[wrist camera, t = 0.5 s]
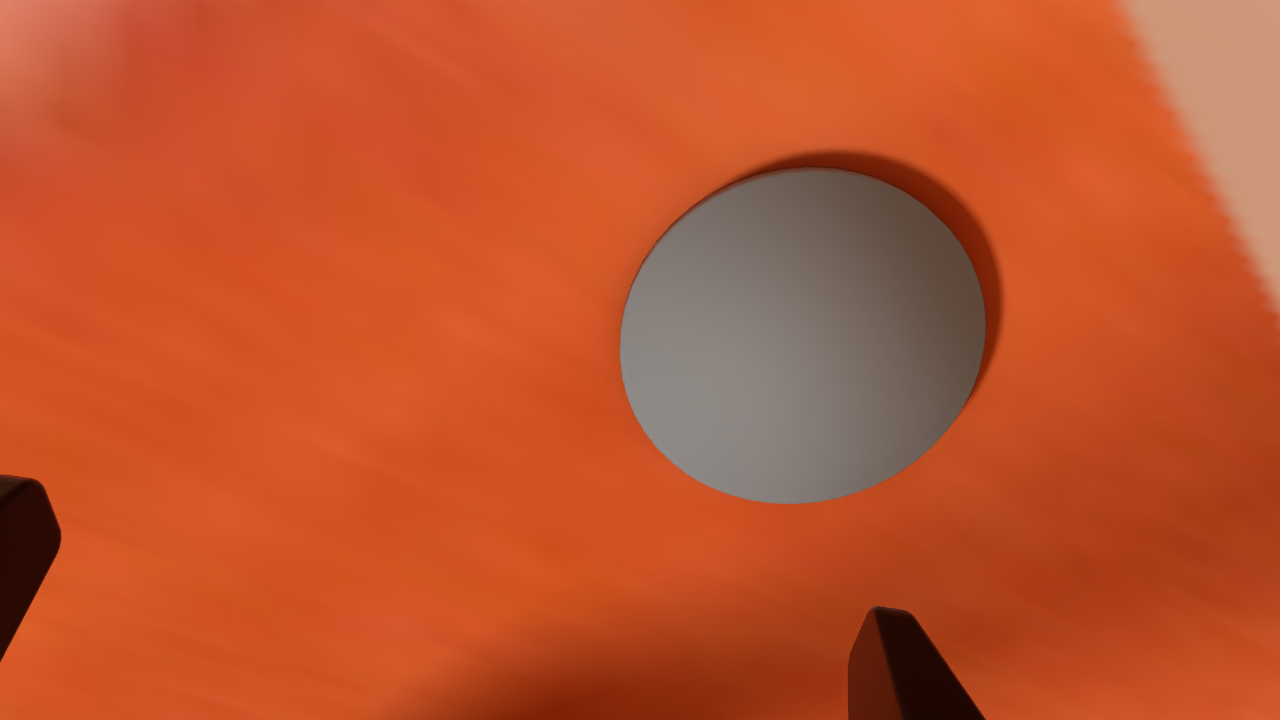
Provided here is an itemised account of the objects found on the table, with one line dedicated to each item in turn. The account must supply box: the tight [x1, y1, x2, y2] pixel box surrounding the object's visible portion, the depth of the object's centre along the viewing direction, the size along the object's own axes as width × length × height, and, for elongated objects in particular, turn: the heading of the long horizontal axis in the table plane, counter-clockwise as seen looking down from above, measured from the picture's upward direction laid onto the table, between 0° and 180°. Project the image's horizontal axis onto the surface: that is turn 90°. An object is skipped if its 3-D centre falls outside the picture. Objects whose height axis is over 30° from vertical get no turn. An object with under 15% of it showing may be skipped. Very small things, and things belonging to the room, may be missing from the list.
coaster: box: [620, 167, 986, 504], centre depth 24 cm, size 10×10×1 cm
